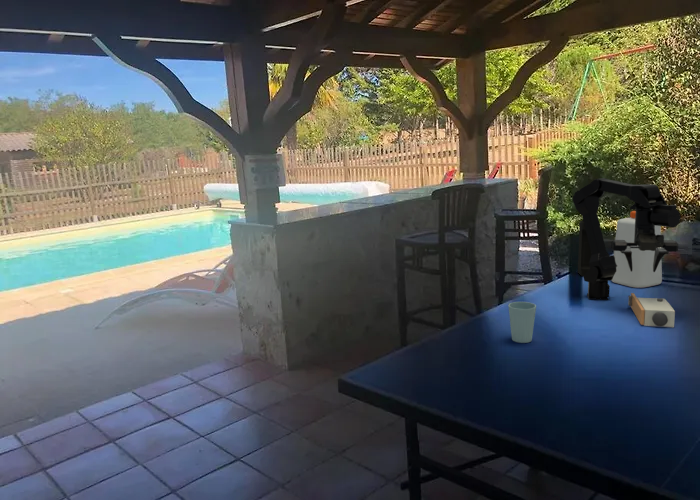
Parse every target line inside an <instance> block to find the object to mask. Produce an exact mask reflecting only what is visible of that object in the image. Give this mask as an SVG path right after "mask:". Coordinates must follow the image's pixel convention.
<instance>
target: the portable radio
mask: <svg viewBox="0 0 700 500" xmlns="http://www.w3.org/2000/svg"><path fill="white" fill-rule="evenodd" d="M599 223H600V221H599ZM578 224H579V227H578V228H579V231H578V253H577V254H578V255H577V256H578V259H577V274H578V273H579V274H580V275H581V277H583V275H584V274H585V273H586V272H587V271H588V270H589V269H590V267H589V261H590V258H591V250H590V246H589V242H588V238H587V233H586V229H585V225H584V221H583V219H581V220H579V223H578ZM579 274H578V275H579ZM580 275H579V276H580Z"/></svg>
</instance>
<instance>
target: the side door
mask: <svg viewBox="0 0 700 500" xmlns="http://www.w3.org/2000/svg"><path fill="white" fill-rule="evenodd" d="M637 298H638V297H637V296H636V295H635V293H634V292H631V293H630V295H628V301H627V302H628V306H629V307H630V308H631V310H632V311H633V313H634V315H635V317H636V319H637V320H638V322H639V324H640V325H642V326H644V312H645V310H644V308H643V307H642V305H641V304H640V302H639V301H638V299H637Z"/></svg>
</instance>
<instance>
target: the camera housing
mask: <svg viewBox="0 0 700 500" xmlns="http://www.w3.org/2000/svg"><path fill="white" fill-rule="evenodd" d="M637 299H638V301H639V302H640V304H641V305H642V307H643V308H644V310H645V312H644V325H643V326H645V327H659V328H661V327H662V328H674V327H675V316H676V311H675V310H674V308H673V307H672V305H671V304H670V303H669V302H668V301H667V300H666V298H661V297H660V298H659V297H658V298H657V297H655V298H653V297H637Z"/></svg>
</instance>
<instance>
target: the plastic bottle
mask: <svg viewBox="0 0 700 500" xmlns="http://www.w3.org/2000/svg"><path fill="white" fill-rule="evenodd" d="M629 214H630V215H629V217H625V218H620V219H618V220H617V221H616V222H617V223H616V230H615V237H614V238H615V239H614V240H625V241H626V242H627V243H634V235H635V214H636V210H632V211H630V213H629ZM661 228H662V226H656V225H655V235H662V229H661ZM637 246H638V245H637ZM656 249H657V248H656ZM630 251H631V252H632V267H633V268H632V272H631V271H630V268H629V265H628V262H627V259H626V256H625V254H624V253H621V252H620V251H613V255H614V257H615V262H616V265H617V267H616V272H615V275H614V276H613V279H612V280H611V282H612V283H615V284H617V285H622V286H626V287H630V288H634V289H635V288H637V289H643V288H645V289H646V288H648V287H653V286H658V285H660V284H661V283H662V282H663V275H662V274H663V272H662V269H663V268H662V267H663V265H662V263H663V262H662V259H661V260H660V262H659V264H658V266H657V269H656V271H655V272H653V263H654V254H655V251H651V250H645V251H641V250H639V248H631V249H630Z"/></svg>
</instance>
